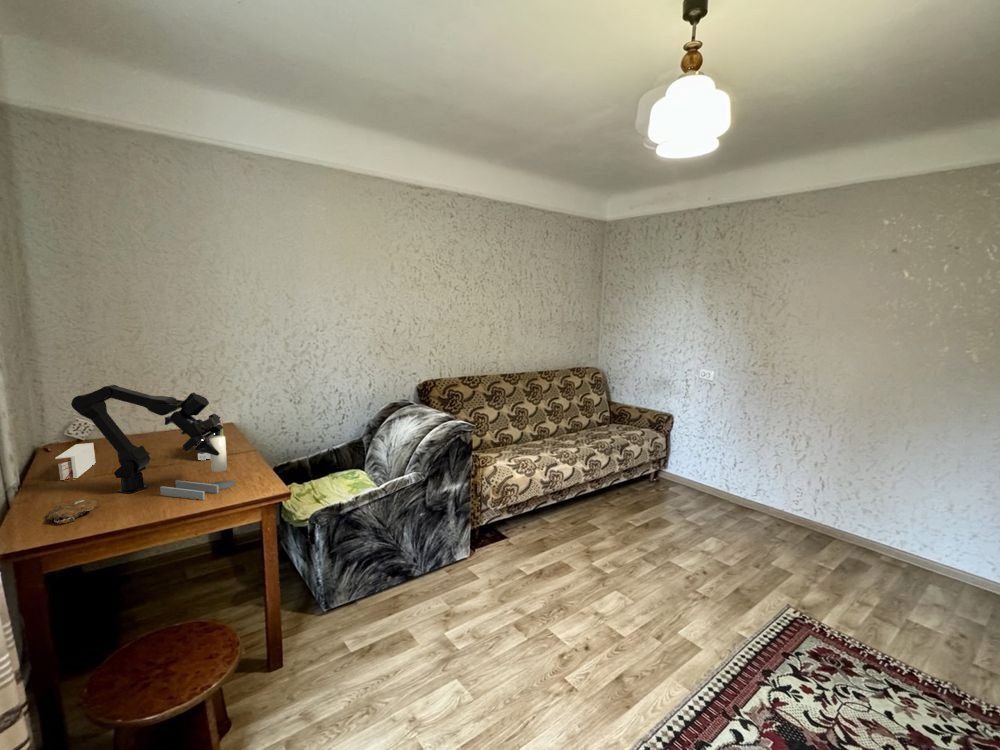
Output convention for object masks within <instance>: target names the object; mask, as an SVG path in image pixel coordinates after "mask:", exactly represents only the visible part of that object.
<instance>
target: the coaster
mask: <svg viewBox="0 0 1000 750" xmlns="http://www.w3.org/2000/svg"><path fill="white" fill-rule="evenodd" d="M211 484H215V485H218V486H219V491H224V490H223V489H225V490H228V489H231V488H233V487H235V486H236V485H235V484H237V482H236V481H235V480H229V479H228V480H220V481H216V482H213V483H211ZM234 485H235V486H234ZM232 486H233V487H232ZM230 487H231V488H230ZM227 488H228V489H227Z"/></svg>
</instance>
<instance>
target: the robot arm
mask: <svg viewBox="0 0 1000 750" xmlns="http://www.w3.org/2000/svg"><path fill="white" fill-rule="evenodd" d="M110 399H114V400H117V401H121V402H125V403H128V404H132V405H135V406H140V407H143V408H145V409H146V410H147V411H149V412H151V413H152V414H155V415H156V416H157V415H158V416H160V417H161V416H166V415H168V414H171V415H170V416H169V415H168V416H166V417H164V425H165V426H168V425H171V424H174V425H175V426H176V427H177V428H178V429H179V430H180V431H181V435H183V436H184V435H187V436H188V437H189V439H188V440H186V441H185V443H184V444H182V450H184V451H185V452H186V453H189V452H191V451H192V450H193V451H194V452H195V451H196V452H197V451H200V452H205V453H209V454H212V455H216V456H218V455H219V454H220V453H219V452H218V451H217V450H216V449H215V448H214V447H213V446H212V445H211V444H210V440H209V438H210V437H213V436H220V432H221V430H222V429H223V430H224V426H223V427H222V426H221V425H220V424H219V423H221V422H220V420H221V416H219V415H218V414H216V413H212V414H209V415H208V419H204V420H202V419H201V418H198V419H196V418H195V416H198V415H199V414H200V413H201V412H202V411H203V410H205V408H207V406H209V405H210V402H209V400H208V399H207V398H206V397H205V396H202V395H200V394H197V393H196V392H191V393H190V394H188V396H187V397H186V398H185V399H184V400H182V399H181V400H180V399H177V398H175V397H173V396H165V395H150V394H147V393H143V392H140V391H136V390H133V389H130V388H129V389H128V388H127V387H125V388H124V387H121V386H119V385H116V384H110V385H104V386H103V387H101V388H99V389H96V390H94V391H92V392H89V393H83V394H80V395H79V394H78V395H77V396H74V397H73V398H72V400H71V403H70V405H71V407H72V409H73V410H74V411H76V412H77V413H78V415H80V416H82V417H83V418H86V419H89V420H90V421H91V422H92V423H93V425H95V427H96V428H97V429H98V431H99V432H100V433H101V434H102V435H103V437H104V438H105V439H106V441H108V443H109V444H110V445H111V447H112V448H113V449H114V450H115V452H116V453H117V459H118V464H119V465H120V466H119V468H117V469H116V470H115V471H114V472H113V474H114V477H115V478H116V479H120V485H121V488H120V489H118V490H117V491H116V492H117V493H123V494H133V493H137V492H139V491H141V490H144V489H146V488H149V486H148V485H146V484H145V481H144V479H145V478H144V476H143V471H145V470H146V468H147V466H148V465H149V463H150V461H151V456H150V452H148V450H147V449H146V448H145V446H143V445H139V446H137V445H135V444H133V443H132V442H131V441H130V439H129V438H128V437H127V435H126V434H125V432H123V431H122V429H121V428H120V426H119V425H117V423H116V422H115V421H114V419H113V418H112V417H111V416H110V414H109V413H108V411H107V409H108V408H107V403H106V401H108V400H110Z"/></svg>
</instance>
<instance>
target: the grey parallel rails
mask: <svg viewBox="0 0 1000 750" xmlns="http://www.w3.org/2000/svg"><path fill="white" fill-rule="evenodd" d="M174 481H175V487H171V486H170V487H169V486H163V485H162V486H160V487H159V491H160V492H159V493H160V496H166V497H174V498H180V497H181V498H182V499H188V498H189V499H190V500H196V499H199V501H205V500H206V494H205V493H210V494H219V493H220V490H219V486H218V485H215V484H212V483H206V482H194V481H188V480H187V481H186V480H178V479H176V480H174ZM189 499H188V500H189Z"/></svg>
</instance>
